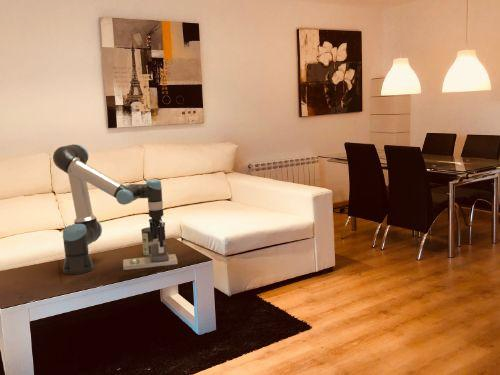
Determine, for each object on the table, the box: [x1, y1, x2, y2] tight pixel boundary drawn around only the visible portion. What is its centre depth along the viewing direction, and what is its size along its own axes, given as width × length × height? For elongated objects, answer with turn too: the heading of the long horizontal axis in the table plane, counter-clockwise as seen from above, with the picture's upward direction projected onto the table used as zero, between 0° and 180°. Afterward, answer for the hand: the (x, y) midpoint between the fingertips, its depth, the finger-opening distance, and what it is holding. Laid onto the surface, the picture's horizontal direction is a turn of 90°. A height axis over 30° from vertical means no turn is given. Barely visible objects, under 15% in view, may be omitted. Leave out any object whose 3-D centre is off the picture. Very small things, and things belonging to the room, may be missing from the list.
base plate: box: [122, 253, 178, 271], centre depth 273 cm, size 28×12×3 cm, turn 104°
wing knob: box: [149, 242, 170, 262], centre depth 273 cm, size 10×10×8 cm
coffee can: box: [140, 226, 158, 256], centre depth 291 cm, size 10×10×14 cm
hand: (158, 251), depth 273 cm, fingers closed on wing knob, 4 cm apart
